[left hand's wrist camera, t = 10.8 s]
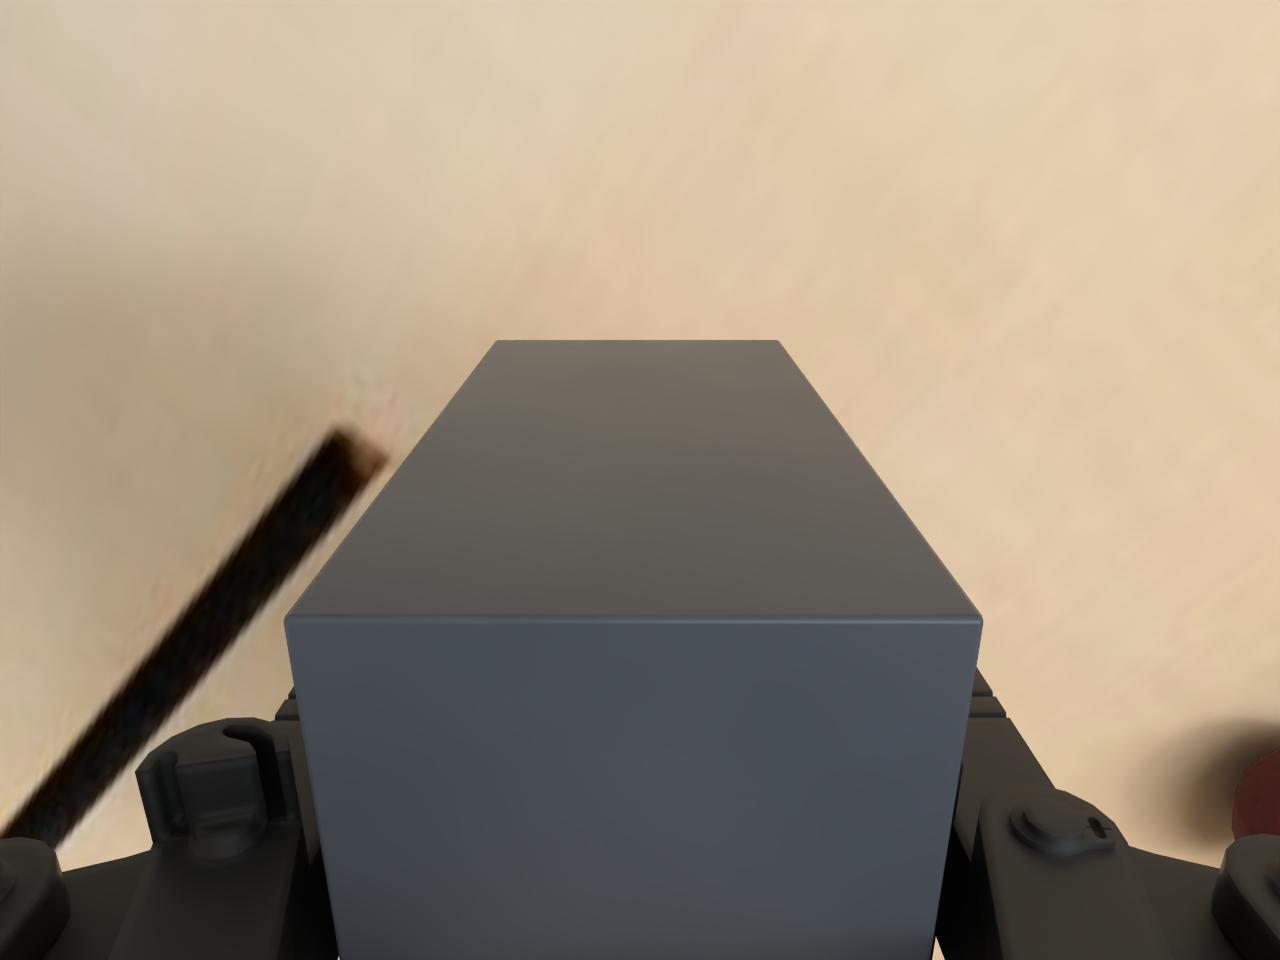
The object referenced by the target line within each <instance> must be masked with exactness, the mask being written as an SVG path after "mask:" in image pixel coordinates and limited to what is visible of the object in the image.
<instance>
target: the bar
mask: <svg viewBox="0 0 1280 960" xmlns="http://www.w3.org/2000/svg"><path fill="white" fill-rule="evenodd" d="M284 627H285V633H286V639H287V645H288V651H289V657H290V663H291V669H292V675H293V681H294V687H295V693H296V699H297V705H298V711H299V717H300V723H301V729H302V735H303V741H304V747H305V753H306V759H307V765H308V771H309V777H310V783H311V789H312V795H313V801H314V807H315V813H316V819H317V825H318V831H319V837H320V844H321V850H322V856H323V862H324V868H325V874H326V880H327V886H328V892H329V898H330V904H331V910H332V916H333V922H334V928H335V934H336V940H337V946H338V952H339V958H340V960H930V955H931V949H932V943H933V936H934V930H935V924H936V917H937V911H938V905H939V899H940V892H941V886H942V880H943V873H944V867H945V861H946V854H947V848H948V842H949V835H950V829H951V823H952V817H953V810H954V804H955V798H956V791H957V785H958V779H959V772H960V766H961V760H962V753H963V747H964V741H965V734H966V728H967V722H968V716H969V709H970V703H971V697H972V690H973V684H974V678H975V671H976V665H977V659H978V652H979V646H980V640H981V634H982V627H983V618H982V615H981V614H980V613H979V611H978V610H977V609H976V607H975V606H974V604H973V603H972V602H971V600H970V599H969V598H968V596H967V595H966V594H965V592H964V591H963V590H962V588H961V587H960V586H959V584H958V583H957V581H956V580H955V579H954V577H953V576H952V575H951V573H950V572H949V571H948V569H947V568H946V567H945V565H944V564H943V563H942V561H941V560H940V558H939V557H938V556H937V554H936V553H935V552H934V550H933V549H932V548H931V546H930V545H929V544H928V542H927V541H926V540H925V538H924V537H923V535H922V534H921V533H920V531H919V530H918V529H917V527H916V526H915V525H914V523H913V522H912V521H911V519H910V518H909V517H908V515H907V514H906V512H905V511H904V510H903V508H902V507H901V506H900V504H899V503H898V502H897V500H896V499H895V498H894V496H893V495H892V494H891V492H890V491H889V489H888V488H887V487H886V485H885V484H884V483H883V481H882V480H881V479H880V477H879V476H878V475H877V473H876V472H875V470H874V469H873V468H872V466H871V465H870V464H869V462H868V461H867V460H866V458H865V457H864V456H863V454H862V453H861V452H860V450H859V449H858V447H857V446H856V445H855V443H854V442H853V441H852V439H851V438H850V437H849V435H848V434H847V433H846V431H845V430H844V429H843V427H842V426H841V424H840V423H839V422H838V420H837V419H836V418H835V416H834V415H833V414H832V412H831V411H830V410H829V408H828V407H827V406H826V404H825V403H824V401H823V400H822V399H821V397H820V396H819V395H818V393H817V392H816V391H815V389H814V388H813V387H812V385H811V384H810V383H809V381H808V380H807V378H806V377H805V376H804V374H803V373H802V372H801V370H800V369H799V368H798V366H797V365H796V364H795V362H794V361H793V359H792V358H791V357H790V355H789V354H788V353H787V351H786V350H785V349H784V347H783V346H782V345H781V343H780V342H779V341H777V340H498V341H496V342H495V343H494V344H493V346H492V347H491V348H490V350H489V351H488V352H487V354H486V355H485V356H484V357H483V359H482V360H481V361H480V363H479V364H478V365H477V367H476V368H475V369H474V370H473V372H472V373H471V374H470V376H469V377H468V378H467V380H466V381H465V382H464V384H463V385H462V386H461V387H460V389H459V390H458V391H457V393H456V394H455V395H454V397H453V398H452V399H451V401H450V402H449V403H448V404H447V406H446V407H445V408H444V410H443V411H442V412H441V414H440V415H439V416H438V418H437V419H436V420H435V421H434V423H433V424H432V425H431V427H430V428H429V429H428V431H427V432H426V433H425V434H424V436H423V437H422V438H421V440H420V441H419V442H418V444H417V445H416V446H415V448H414V449H413V450H412V451H411V453H410V454H409V455H408V457H407V458H406V459H405V461H404V462H403V463H402V465H401V466H400V467H399V468H398V470H397V471H396V472H395V474H394V475H393V476H392V478H391V479H390V480H389V481H388V483H387V484H386V485H385V487H384V488H383V489H382V491H381V492H380V493H379V495H378V496H377V497H376V498H375V500H374V501H373V502H372V504H371V505H370V506H369V508H368V509H367V510H366V512H365V513H364V514H363V515H362V517H361V518H360V519H359V521H358V522H357V523H356V525H355V526H354V527H353V528H352V530H351V531H350V532H349V534H348V535H347V536H346V538H345V539H344V540H343V542H342V543H341V544H340V545H339V547H338V548H337V549H336V551H335V552H334V553H333V555H332V556H331V557H330V559H329V560H328V561H327V562H326V564H325V565H324V566H323V568H322V569H321V570H320V572H319V573H318V574H317V575H316V577H315V578H314V579H313V581H312V582H311V583H310V585H309V586H308V587H307V589H306V590H305V591H304V592H303V594H302V595H301V596H300V598H299V599H298V600H297V602H296V603H295V604H294V606H293V607H292V608H291V609H290V611H289V612H288V613H287V615H286V616H285V619H284Z"/></svg>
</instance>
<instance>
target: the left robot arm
mask: <svg viewBox="0 0 1280 960" xmlns="http://www.w3.org/2000/svg"><path fill="white" fill-rule="evenodd" d="M135 774H136V778H137V782H138V786H139V790H140V794H141V798H142V802H143V806H144V810H145V814H146V817H147V821H148V825H149V829H150V833H151V837H152V841H153V845H152V847H151V850H149V851H145V852H142V853H139V854H135V855H132V856H129V857H125V858H121V859H117V860H112V861H108V862H104V863H100V864H95V865H91V866H87V867H82V868H78V869H74V870H69V871H65V872H61V868H60V865H59V862H58V859H57V855H56V853H55V852H54V851H53V850H52V849H51V848H50V847H49V846H48V845H47V844H45V843H44V842H43V841H39V840H34V839H28V838H22V837H16V838H8V839H0V960H337V959H338V957H339V952H338V946H337V940H336V934H335V928H334V922H333V916H332V910H331V904H330V898H329V892H328V886H327V880H326V874H325V868H324V862H323V856H322V850H321V844H320V837H319V831H318V825H317V819H316V813H315V807H314V801H313V795H312V789H311V783H310V777H309V771H308V765H307V759H306V753H305V747H304V741H303V735H302V729H301V723H300V717H299V711H298V705H297V699H296V693H295V687H293V688H292V690H291V691H290V693H289V697H288V700H285V701H284V702H283V704H282V705H281V707H280V708H279V710H278V712H277V713H276V715H275V721H271V722H269V721H265V720H261V719H258V718H226V719H222V720H218V721H213V722H209V723H205V724H200V725H197V726H195V727H193V728H191V729H188V730H186V731H184V732H182V733H179V734H177V735H175V736H173V737H171V738H169V739H168V740H167V741H165V742H164V743H162V744H161V745H160V746H158V747H157V748H156V749H154V750H153V751H151V752H150V753H149V754H148V755H147V756H146V758H145V759H144V760H143V762H142V763H141V764H140V766H139V767H138V768H137V770H136V771H135ZM936 937H937V940H938V943H939V945H940V948H941V951H942V953H943V956H944V959H945V960H1280V836H1278V835H1270V834H1256V835H1251V836H1245V837H1239V838H1238V839H1237V840H1236V841H1235V842H1234V843H1232V844H1231V845H1230V846H1229V847H1228V848H1227V849H1226V851H1225V855H1224V858H1223V861H1222V864H1221V868H1220V869H1218V868H1214V867H1210V866H1205V865H1201V864H1197V863H1192V862H1188V861H1184V860H1179V859H1175V858H1171V857H1166V856H1162V855H1158V854H1154V853H1150V852H1147V851H1144V850H1141V849H1137V848H1134V847H1131V846H1129V845H1128V843H1127V841H1126V840H1125V838H1124V837H1123V835H1122V834H1121V832H1120V831H1119V829H1118V827H1117V826H1116V824H1115V823H1114V822H1113V821H1112V820H1111V819H1109V818H1108V817H1107V816H1106V815H1105V814H1103V813H1102V812H1101V811H1100V810H1098V809H1097V808H1096V807H1095V806H1094V805H1092V804H1090V803H1088V802H1086V801H1084V800H1082V799H1080V798H1078V797H1076V796H1074V795H1072V794H1070V793H1068V792H1066V791H1062V790H1058V789H1055V787H1054V786H1053V784H1052V782H1051V781H1050V779H1049V778H1048V776H1047V775H1046V773H1045V772H1044V770H1043V769H1042V767H1041V766H1040V764H1039V762H1038V761H1037V759H1036V758H1035V756H1034V755H1033V753H1032V752H1031V750H1030V749H1029V747H1028V745H1027V744H1026V742H1025V741H1024V739H1023V738H1022V736H1021V735H1020V733H1019V732H1018V730H1017V729H1016V727H1015V725H1014V724H1013V722H1012V721H1011V719H1010V718H1007V717H1006V712H1005V710H1004V709H1003V707H1002V705H1001V704H1000V702H999V701H998V699H997V698H996V697H993V692H992V690H991V688H990V687H989V685H988V684H987V682H986V681H985V679H984V678H983V676H982V675H981V673H980V672H979V670H978V668H977V667H976V671H975V678H974V684H973V690H972V697H971V703H970V709H969V716H968V722H967V728H966V734H965V741H964V747H963V753H962V760H961V766H960V772H959V779H958V785H957V791H956V798H955V804H954V810H953V817H952V823H951V829H950V835H949V842H948V848H947V854H946V861H945V867H944V873H943V880H942V886H941V892H940V899H939V905H938V911H937V917H936V924H935V930H934V936H933V943H932V949H931V955H930V960H932V956H933V950H934V944H935V938H936Z"/></svg>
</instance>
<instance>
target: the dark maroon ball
mask: <svg viewBox="0 0 1280 960" xmlns="http://www.w3.org/2000/svg"><path fill="white" fill-rule="evenodd" d="M1232 830H1233V834H1234V838H1235V841H1236V840H1237V839H1238V838H1239V837H1245V836H1251V835H1256V834H1270V835H1278V836H1280V749H1277V750H1275V751H1273V752H1271V753H1269V754H1267V755H1265V756H1263V757H1261V758H1260V759H1259V760H1258V761H1256V762H1255V763H1254V764H1253V765H1252V766H1251V767H1250V768H1249V769H1248V770H1247V771H1246V772H1245V774H1244V776H1243V777H1242V779H1241V780H1240V782H1239V784H1238V786H1237V789H1236V792H1235V799H1234V806H1233V815H1232Z"/></svg>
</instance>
